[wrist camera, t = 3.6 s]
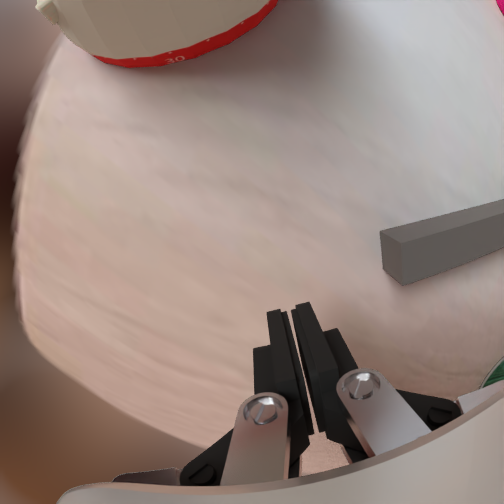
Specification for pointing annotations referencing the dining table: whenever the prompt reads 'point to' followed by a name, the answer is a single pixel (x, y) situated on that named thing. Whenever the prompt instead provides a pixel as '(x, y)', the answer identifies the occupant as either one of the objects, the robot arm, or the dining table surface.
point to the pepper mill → (501, 5)
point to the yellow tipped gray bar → (442, 242)
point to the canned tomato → (494, 374)
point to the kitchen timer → (153, 27)
